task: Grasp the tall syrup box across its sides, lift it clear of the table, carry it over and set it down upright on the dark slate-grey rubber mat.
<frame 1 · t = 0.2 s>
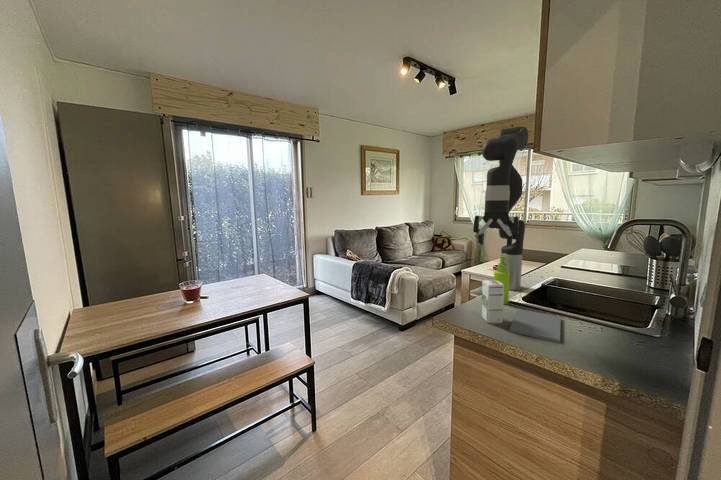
hand: (494, 245, 100), 28 cm above the worktop, fingers open, 8 cm apart
slate mat: (536, 325, 100), on the worktop
syrup box: (491, 320, 105), on the worktop
soap dispenser: (501, 301, 123), on the worktop
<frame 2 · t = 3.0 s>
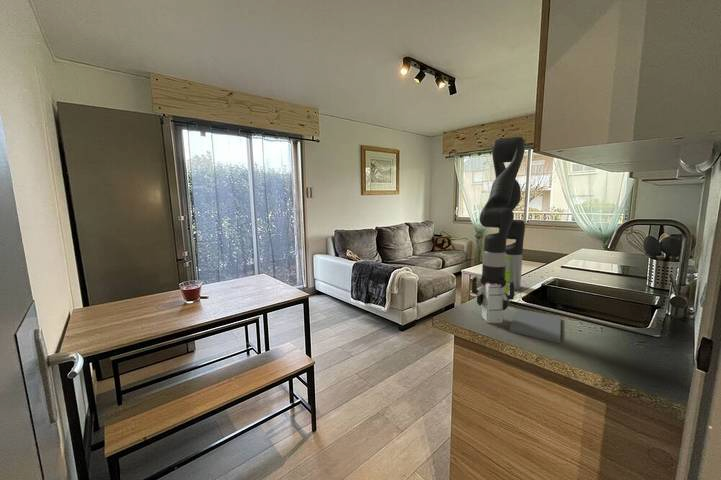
hand: (491, 306, 104), 5 cm above the worktop, fingers closed on syrup box, 7 cm apart
syrup box: (491, 320, 105), on the worktop, touching gripper
everything else where it was.
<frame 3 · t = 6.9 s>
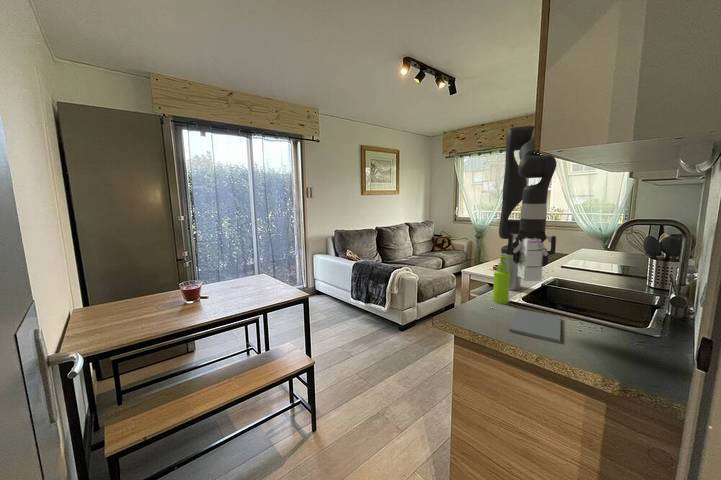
hand: (529, 264, 98), 22 cm above the worktop, fingers closed on syrup box, 7 cm apart
syrup box: (528, 279, 99), point 16 cm above the worktop, touching gripper
everything else where it was.
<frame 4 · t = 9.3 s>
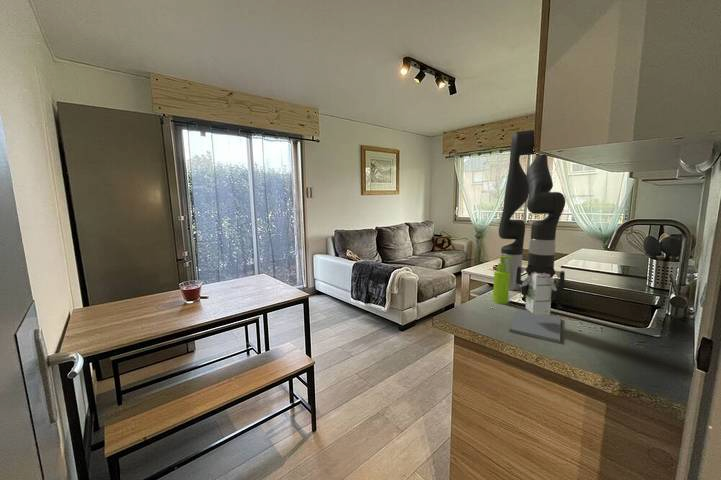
hand: (538, 298, 99), 10 cm above the worktop, fingers closed on syrup box, 7 cm apart
syrup box: (537, 312, 100), point 5 cm above the worktop, touching gripper
everything else where it was.
when the fingers open (7 cm above the worktop, at t = 11.0 s): syrup box drops 1 cm, resting on slate mat.
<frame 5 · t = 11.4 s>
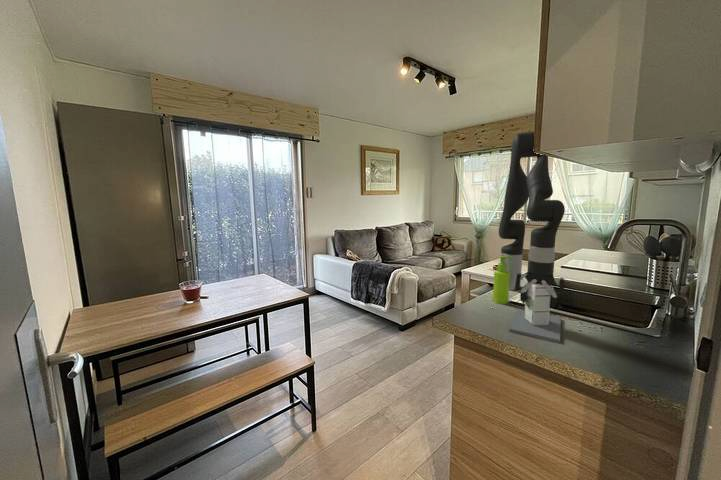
hand: (537, 304, 99), 8 cm above the worktop, fingers open, 8 cm apart
syrup box: (535, 322, 101), point 1 cm above the worktop, touching gripper, slate mat
everything else where it was.
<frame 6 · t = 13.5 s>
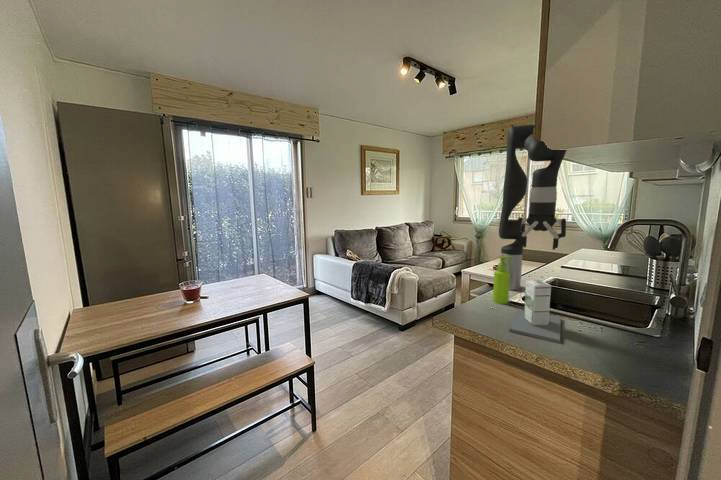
hand: (538, 248, 98), 27 cm above the worktop, fingers open, 8 cm apart
syrup box: (535, 322, 101), point 1 cm above the worktop, touching slate mat
everything else where it was.
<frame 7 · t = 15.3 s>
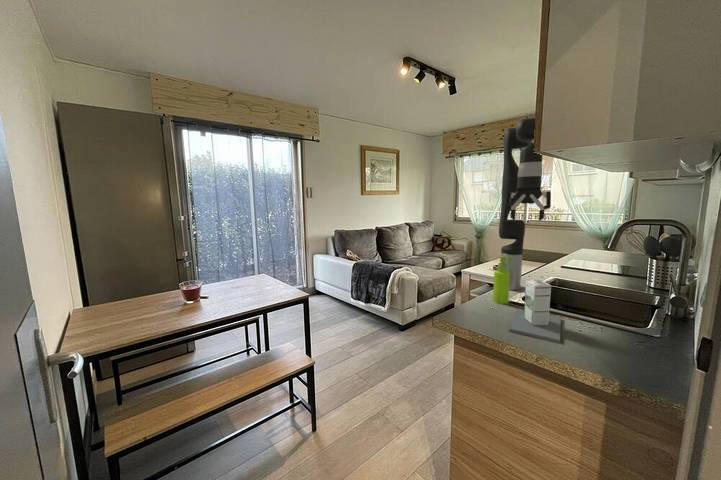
hand: (526, 220, 106), 36 cm above the worktop, fingers open, 8 cm apart
nothing on the worktop moved.
at the end: syrup box inside the target area on the slate mat (0.5 cm from its centre), point 0.8 cm above the slate mat's base; syrup box tilted 0°; the gripper is holding nothing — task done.
